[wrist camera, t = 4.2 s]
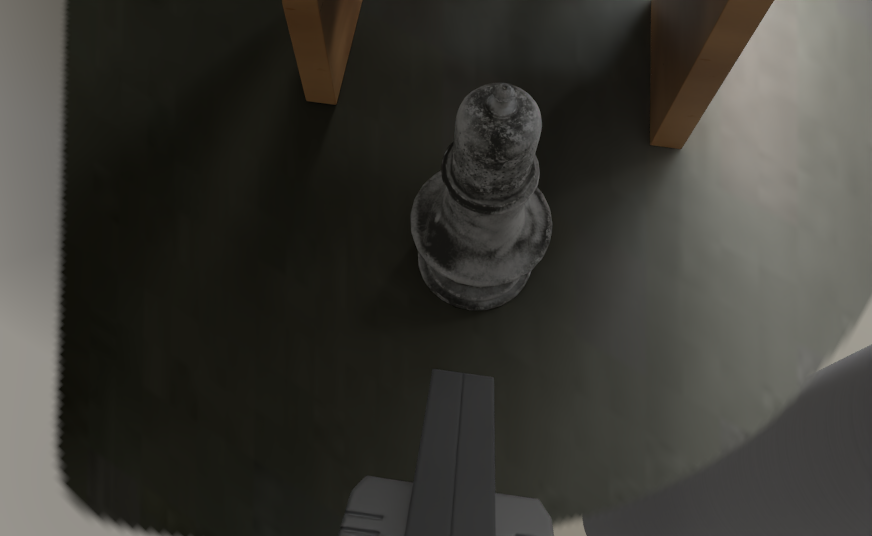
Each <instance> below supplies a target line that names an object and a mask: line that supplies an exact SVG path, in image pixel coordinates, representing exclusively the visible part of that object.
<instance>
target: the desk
mask: <svg viewBox="0 0 872 536" xmlns="http://www.w3.org/2000/svg"><path fill="white" fill-rule="evenodd" d="M773 1H774V0H651V73H650V145H653V146H661V147H669V148H677V149H682V147H683V146H684V144H685V142H686V141H687V139H688V138H689V136H690V134H691V133H692V131H693V130H694V128H695V126H696V125H697V123H698V122H699V120H700V118H701V117H702V115H703V113H704V112H705V110H706V109H707V107H708V105H709V104H710V102H711V101H712V99H713V97H714V96H715V94H716V93H717V91H718V89H719V88H720V86H721V85H722V83H723V81H724V80H725V78H726V77H727V75H728V73H729V72H730V70H731V69H732V67H733V65H734V64H735V62H736V61H737V59H738V57H739V56H740V54H741V52H742V51H743V49H744V48H745V46H746V44H747V43H748V41H749V40H750V38H751V36H752V35H753V33H754V32H755V30H756V28H757V27H758V25H759V24H760V22H761V20H762V19H763V17H764V16H765V14H766V12H767V11H768V9H769V8H770V6H771V4H772V3H773ZM361 4H362V0H282V5H283V9H284V13H285V17H286V21H287V25H288V29H289V33H290V37H291V41H292V45H293V49H294V53H295V57H296V61H297V65H298V70H299V74H300V78H301V82H302V86H303V90H304V94H305V98H306V101H310V102H318V103H325V104H333V105H336V104H337V100H338V96H339V92H340V88H341V84H342V80H343V76H344V72H345V68H346V64H347V60H348V56H349V52H350V48H351V44H352V40H353V36H354V32H355V28H356V24H357V20H358V16H359V12H360V8H361Z"/></svg>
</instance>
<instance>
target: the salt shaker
mask: <svg viewBox="0 0 872 536" xmlns="http://www.w3.org/2000/svg"><path fill="white" fill-rule="evenodd" d="M541 129H542V120H541V113H540V109H539V107H538V105H537V103H536V102H535V100H534V99H533V98H532V97H531V96H530V95H529V94H528V93H527V92H525V91H524V90H522V89H521V88H519V87H517V86H515V85H512V84H508V83H491V84H487V85H483V86H481V87H479V88H477V89H475V90H473V91H472V92H470V93H469V94H468V95H467V96H466V97H465V98H464V100H463V102H462V103H461V105H460V107H459V109H458V111H457V116H456V120H455V131H454V142H453V143H452V144H451V145H450V146H449V147H448V149H447V151H446V152H445V154H444V156H443V160H442V164H441V171H439V172H437V173H436V174H434V175H433V176H432V177H431V178H430V179H429V180H428V181H427V182H426V183H425V184H424V185H423V186H422V188H421V189H420V191H419V193H418V194H417V196H416V198H415V199H414V203H413V207H412V211H411V215H410V217H411V233H412V236H413V239H414V242H415V245H416V248H417V250H418V265H419V269H420V272H421V275H422V278H423V280H424V281H425V283H426V284H427V286H428V287H429V288H430V290H431V291H432V292H433V293H434V294H435V295H436V296H438V297H439V298H440V299H441V300H442V301H444V302H446V303H448V304H450V305H453V306H455V307H457V308H462V309H467V310H472V311H474V310H489V309H492V308H495V307H499V306H502V305H504V304H505V303H507V302H508V301H510V300H512V299H513V298H515V297H516V295H517V294H518V293H519V292H520V291H521V290H522V289H523V288H524V286H525V284H526V282H527V280H528V278H529V276H530V273H531V270H532V269H533V268H534V267H535V266H536V265H537V264H538V263H539V262H540V260H541V259H542V258H543V256H544V254H545V252H546V250H547V248H548V246H549V244H550V240H551V233H552V227H553V225H552V218H551V211H550V208H549V206H548V203H547V201H546V199H545V197H544V195H543V193H542V192H541V191H540V190H539V188H538V187H537V186H538V181H539V175H540V170H539V162H538V160H537V158H536V155H535V153H536V149H537V146H538V142H539V138H540V134H541Z"/></svg>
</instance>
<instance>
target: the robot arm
mask: <svg viewBox="0 0 872 536" xmlns="http://www.w3.org/2000/svg"><path fill="white" fill-rule="evenodd" d="M338 536H554V534H553V526H552V518H551V517H550V515H549V514H548V512H547V511H546V509H545V507H544V506H543V504H542V503H541V501H540V500H539V499H535V498H528V497H521V496H514V495H508V494H501V493H495V421H494V377H489V376H482V375H474V374H467V373H460V372H453V371H446V370H439V369H432V375H431V381H430V387H429V393H428V399H427V405H426V411H425V417H424V423H423V429H422V435H421V441H420V447H419V453H418V459H417V465H416V471H415V477H414V482H407V481H400V480H394V479H387V478H380V477H373V476H365V477H364V478H363V479H362V480H361V481H360V482H359V484H358V485H357V486H356V487H355V488H354V489H353V490H352V491H351V493H350V497H349V500H348V504H347V507H346V510H345V514H344V517H343V520H342V524H341V528H340V530H339V534H338Z"/></svg>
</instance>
